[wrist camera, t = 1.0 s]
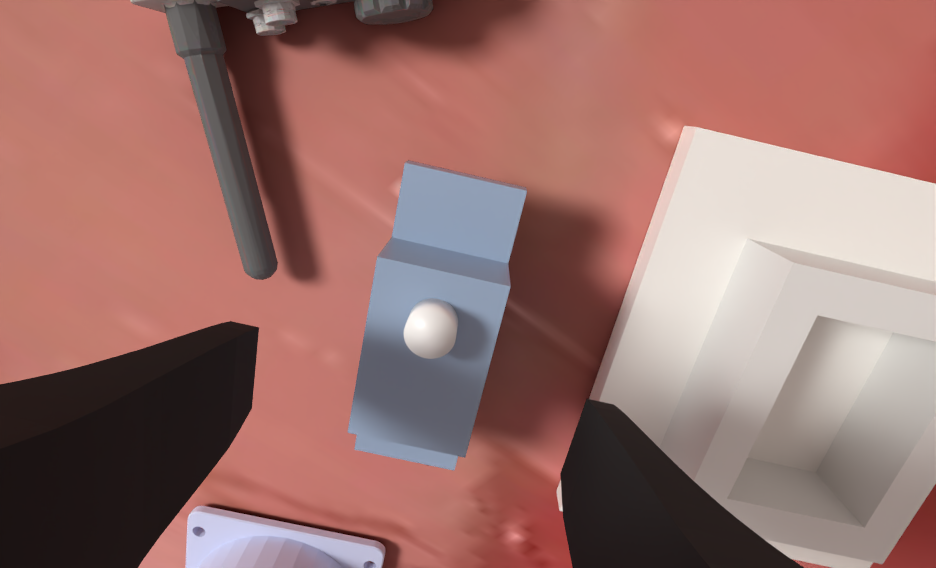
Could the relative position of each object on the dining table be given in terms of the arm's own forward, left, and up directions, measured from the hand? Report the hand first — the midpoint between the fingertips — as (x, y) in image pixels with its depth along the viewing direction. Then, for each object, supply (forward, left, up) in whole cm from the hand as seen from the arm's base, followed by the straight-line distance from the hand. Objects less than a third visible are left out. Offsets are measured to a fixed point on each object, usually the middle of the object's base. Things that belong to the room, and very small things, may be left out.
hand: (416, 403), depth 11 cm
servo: (0, 0, -7) cm, 7 cm away
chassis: (0, -12, -7) cm, 14 cm away
